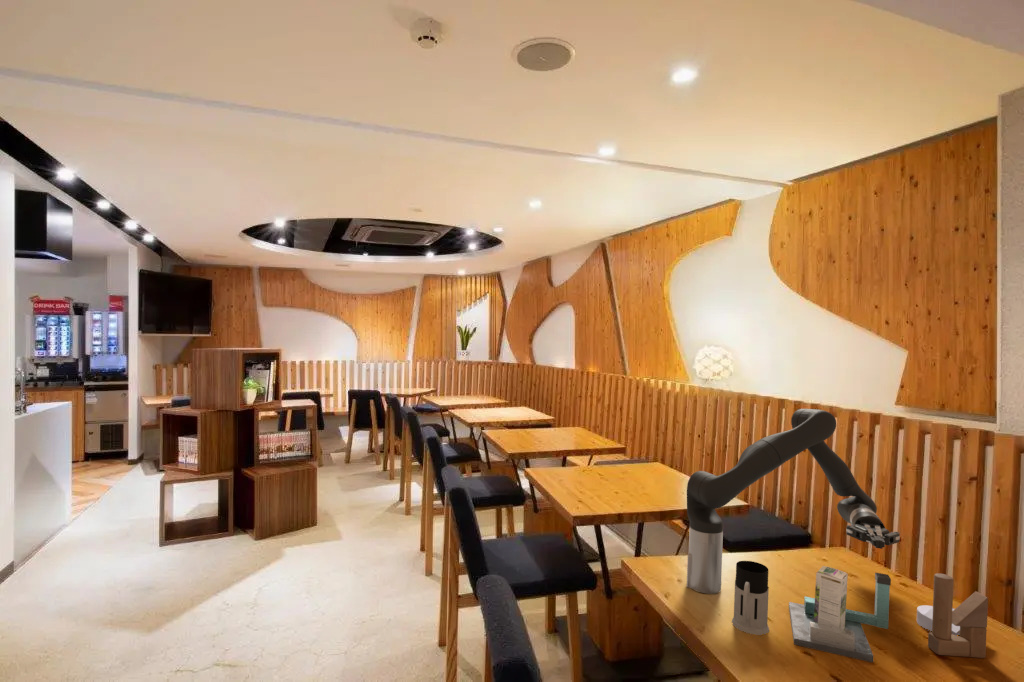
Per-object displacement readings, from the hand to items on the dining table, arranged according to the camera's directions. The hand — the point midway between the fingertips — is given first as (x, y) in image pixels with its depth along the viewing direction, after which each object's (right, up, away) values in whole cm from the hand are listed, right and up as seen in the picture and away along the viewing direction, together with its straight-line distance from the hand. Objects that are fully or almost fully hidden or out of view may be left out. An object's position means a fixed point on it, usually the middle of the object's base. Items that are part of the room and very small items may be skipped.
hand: (879, 544), depth 141 cm
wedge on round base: (+15, -21, -3) cm, 26 cm away
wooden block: (+9, -21, -13) cm, 26 cm away
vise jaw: (-10, -18, -2) cm, 21 cm away
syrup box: (-17, -18, -7) cm, 26 cm away
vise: (-17, -20, -6) cm, 27 cm away
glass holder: (-37, -19, -6) cm, 42 cm away
